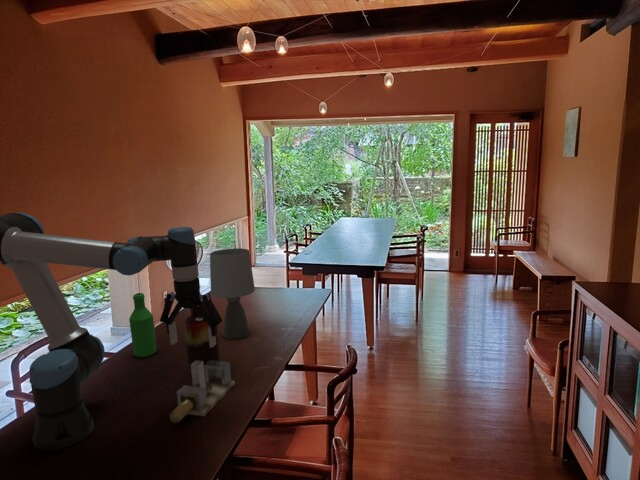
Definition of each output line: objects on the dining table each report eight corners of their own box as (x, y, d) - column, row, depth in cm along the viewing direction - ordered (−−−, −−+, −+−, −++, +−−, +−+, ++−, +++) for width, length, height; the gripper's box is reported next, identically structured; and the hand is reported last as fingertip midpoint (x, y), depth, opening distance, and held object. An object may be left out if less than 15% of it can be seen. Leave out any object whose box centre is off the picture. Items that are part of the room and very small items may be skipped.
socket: (225, 386, 151) (223, 367, 150) (205, 384, 153) (204, 365, 152) (231, 380, 155) (229, 361, 154) (211, 378, 157) (210, 360, 156)
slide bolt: (181, 423, 130) (176, 384, 128) (170, 422, 131) (165, 383, 129) (212, 392, 147) (209, 357, 145) (203, 391, 148) (199, 356, 146)
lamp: (207, 342, 192) (199, 256, 186) (226, 326, 210) (219, 247, 204) (248, 344, 188) (241, 257, 181) (264, 327, 206) (258, 247, 199)
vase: (189, 381, 158) (181, 309, 153) (189, 368, 168) (182, 300, 164) (221, 376, 161) (215, 305, 156) (219, 363, 171) (213, 296, 167)
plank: (204, 416, 136) (203, 412, 136) (175, 412, 139) (174, 408, 138) (235, 384, 155) (234, 380, 154) (208, 381, 157) (208, 378, 157)
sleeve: (200, 412, 136) (198, 394, 135) (178, 409, 138) (176, 391, 137) (206, 405, 140) (205, 387, 139) (185, 402, 142) (184, 385, 141)
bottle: (149, 358, 178) (141, 297, 174) (129, 357, 180) (121, 297, 176) (161, 349, 187) (154, 291, 182) (142, 348, 189) (135, 290, 184)
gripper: (229, 275, 138) (235, 341, 141) (157, 274, 144) (165, 337, 148) (217, 282, 131) (224, 352, 134) (142, 280, 137) (151, 347, 141)
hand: (193, 344), depth 141 cm, fingers open, 13 cm apart
